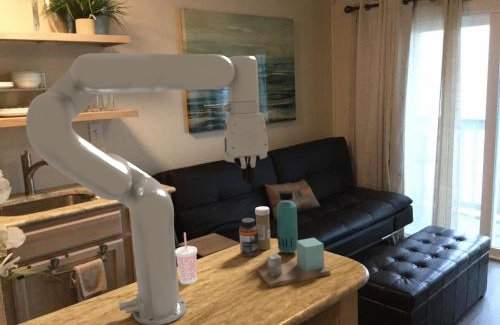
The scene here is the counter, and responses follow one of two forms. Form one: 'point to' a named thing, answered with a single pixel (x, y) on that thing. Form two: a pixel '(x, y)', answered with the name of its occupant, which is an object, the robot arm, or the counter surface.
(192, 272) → the beverage cup
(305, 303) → the counter surface
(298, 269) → the post board
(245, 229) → the supplement bottle
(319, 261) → the pale aqua cube
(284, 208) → the beverage bottle
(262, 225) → the sprinkles bottle
